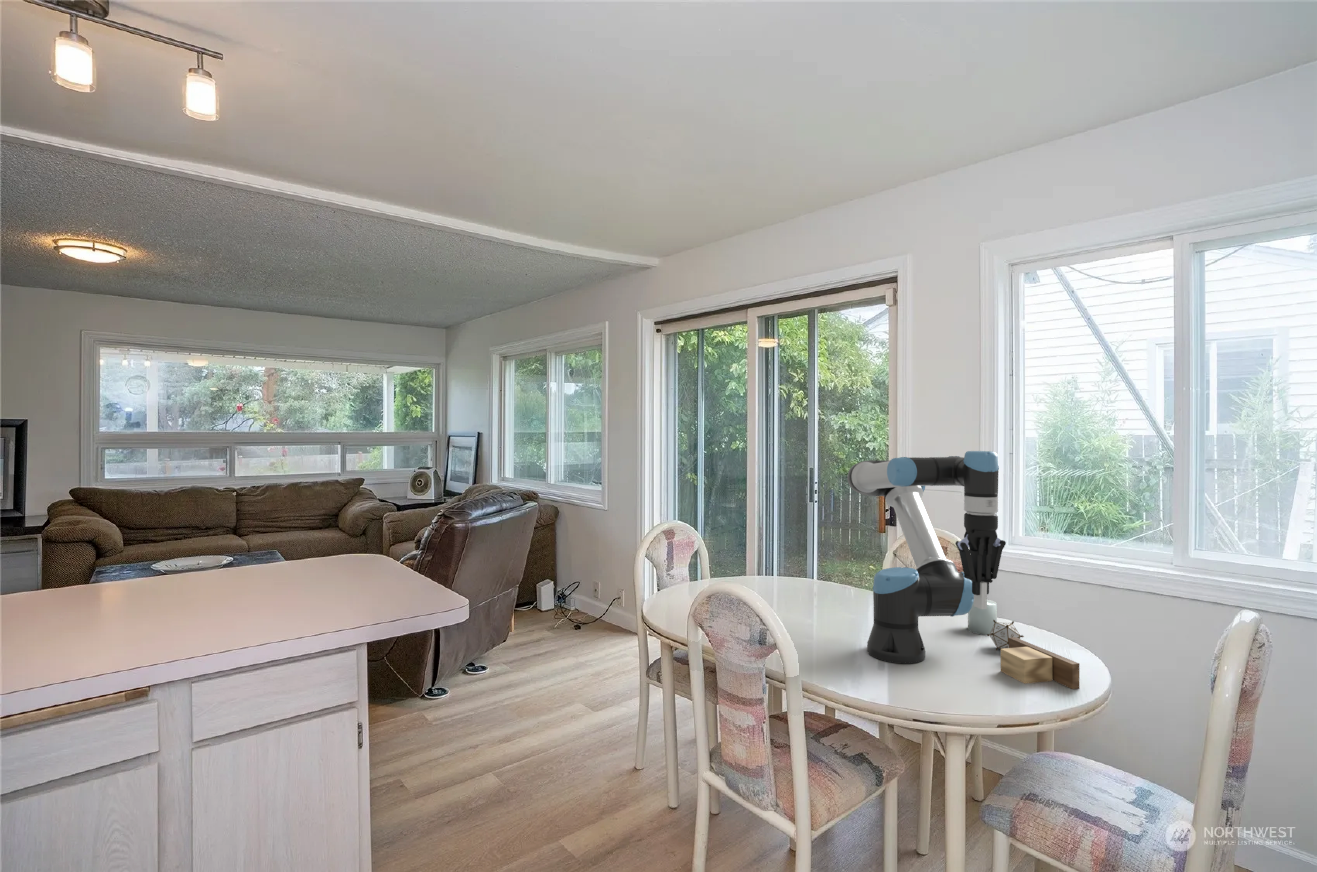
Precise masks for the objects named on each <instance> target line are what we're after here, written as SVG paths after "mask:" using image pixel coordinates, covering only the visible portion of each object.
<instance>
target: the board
mask: <svg viewBox="0 0 1317 872" xmlns="http://www.w3.org/2000/svg"><path fill="white" fill-rule="evenodd" d="M1016 647H1030V648H1032V649H1034V650H1037V651H1039V652H1041V653H1043V654H1046V655H1048V656H1050V657H1052V681H1053V682H1056V683H1058V684H1061V685H1063V686H1065V687H1067V688H1069V689H1071V690H1078V689H1080V663H1079V662H1076V661H1074V660H1072V659H1069V658H1067V657H1065V656H1062V655H1060V654H1056V653H1055V652H1053V651H1049V650H1047V649H1046V648H1043V647H1040V646H1038V645H1035V644H1033V643H1030V642H1027V641H1025V640H1024V639H1023V640H1022V639H1021V638H1020V639H1018V638H1016V637H1011V638H1009V648H1016Z"/></svg>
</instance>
